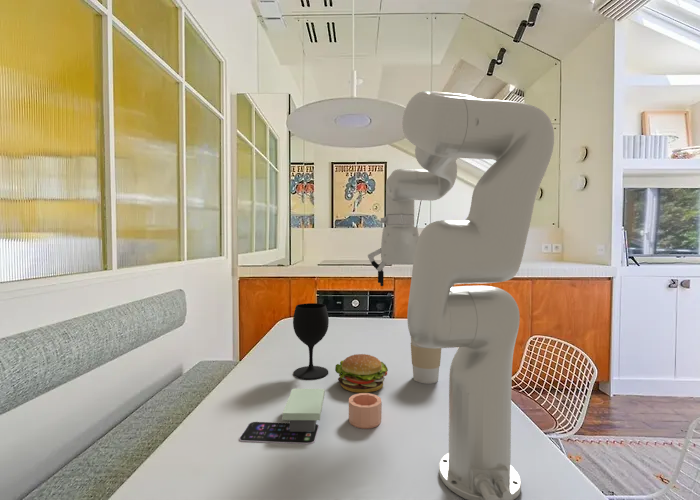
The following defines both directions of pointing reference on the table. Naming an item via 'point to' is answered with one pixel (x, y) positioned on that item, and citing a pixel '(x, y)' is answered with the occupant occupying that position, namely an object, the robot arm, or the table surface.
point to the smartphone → (276, 433)
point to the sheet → (304, 404)
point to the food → (361, 373)
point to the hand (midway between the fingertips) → (399, 285)
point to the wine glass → (310, 335)
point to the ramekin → (365, 410)
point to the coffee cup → (425, 363)
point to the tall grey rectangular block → (302, 425)
